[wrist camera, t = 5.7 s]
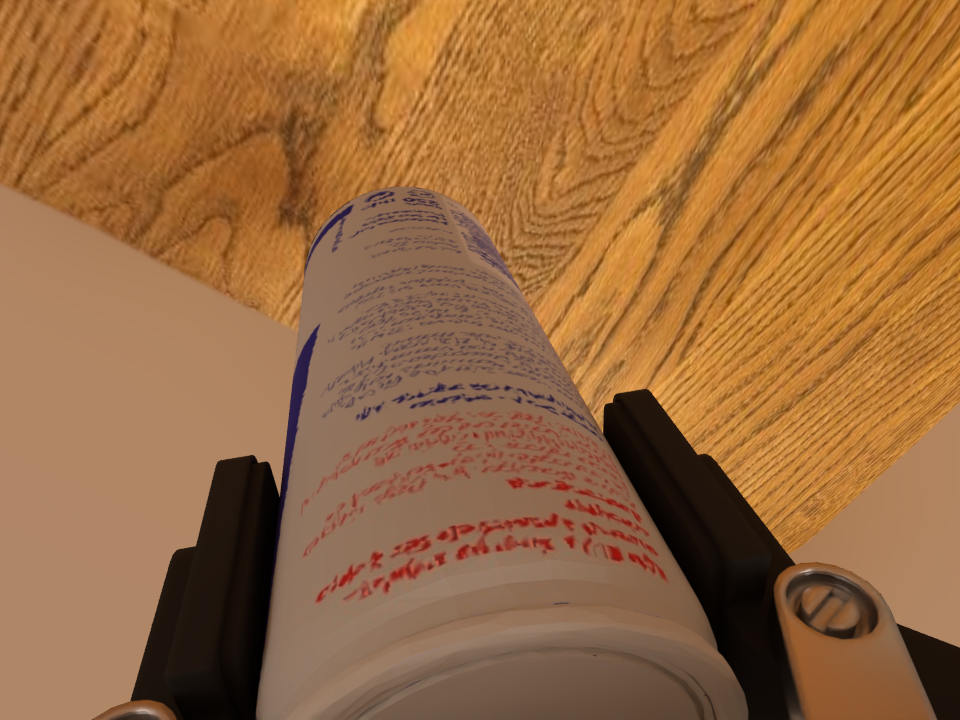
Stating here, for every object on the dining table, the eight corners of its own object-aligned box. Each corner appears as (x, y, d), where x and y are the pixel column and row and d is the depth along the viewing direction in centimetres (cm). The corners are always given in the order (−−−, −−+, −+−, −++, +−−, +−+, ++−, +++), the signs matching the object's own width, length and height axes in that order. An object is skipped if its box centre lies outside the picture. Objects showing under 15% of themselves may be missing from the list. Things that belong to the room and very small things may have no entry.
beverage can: (264, 245, 19) (108, 813, 6) (438, 143, 18) (667, 530, 6) (371, 387, 22) (419, 978, 9) (525, 302, 21) (807, 800, 8)
